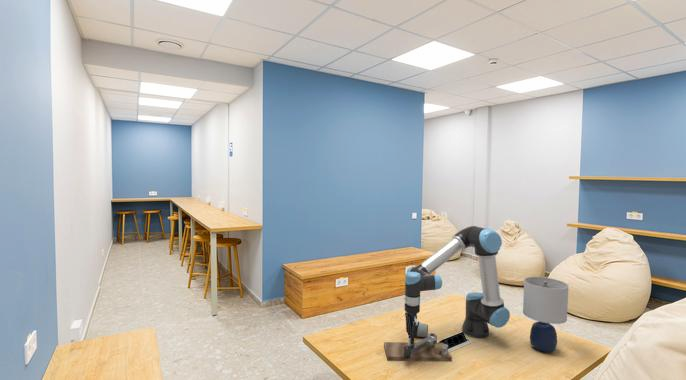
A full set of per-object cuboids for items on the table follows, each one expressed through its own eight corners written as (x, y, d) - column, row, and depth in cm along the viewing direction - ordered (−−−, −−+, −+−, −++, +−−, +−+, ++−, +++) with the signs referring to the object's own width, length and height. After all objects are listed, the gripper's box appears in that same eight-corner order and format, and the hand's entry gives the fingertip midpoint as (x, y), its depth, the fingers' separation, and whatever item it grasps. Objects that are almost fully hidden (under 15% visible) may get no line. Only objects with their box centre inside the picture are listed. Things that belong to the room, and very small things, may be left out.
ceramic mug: (428, 340, 198) (428, 326, 198) (413, 338, 199) (413, 324, 199) (427, 332, 208) (428, 319, 208) (413, 330, 210) (413, 317, 210)
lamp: (559, 343, 195) (562, 278, 193) (570, 362, 176) (573, 289, 174) (519, 337, 202) (521, 274, 200) (524, 354, 183) (527, 284, 181)
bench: (443, 346, 191) (443, 335, 190) (451, 361, 176) (452, 349, 175) (383, 345, 191) (384, 334, 190) (387, 360, 176) (387, 348, 175)
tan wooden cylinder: (441, 350, 182) (441, 343, 182) (443, 354, 178) (443, 347, 178) (433, 350, 182) (433, 343, 182) (435, 354, 178) (435, 347, 178)
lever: (430, 339, 190) (430, 330, 190) (439, 343, 187) (439, 334, 186) (401, 356, 173) (401, 346, 173) (409, 360, 169) (410, 350, 169)
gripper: (400, 299, 183) (399, 343, 184) (410, 309, 170) (409, 356, 172) (414, 298, 184) (413, 342, 186) (424, 308, 172) (423, 355, 173)
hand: (411, 349), depth 179 cm, fingers closed
